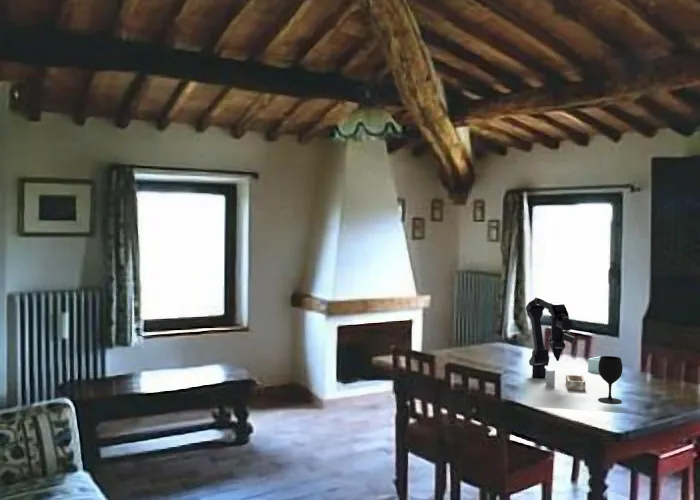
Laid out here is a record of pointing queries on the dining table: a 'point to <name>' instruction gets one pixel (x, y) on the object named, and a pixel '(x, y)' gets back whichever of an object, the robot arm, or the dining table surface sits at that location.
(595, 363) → the l-shaped corner panel
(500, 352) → the dining table surface
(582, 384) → the beige tray
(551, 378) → the light grey rectangular block
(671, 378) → the dining table surface
